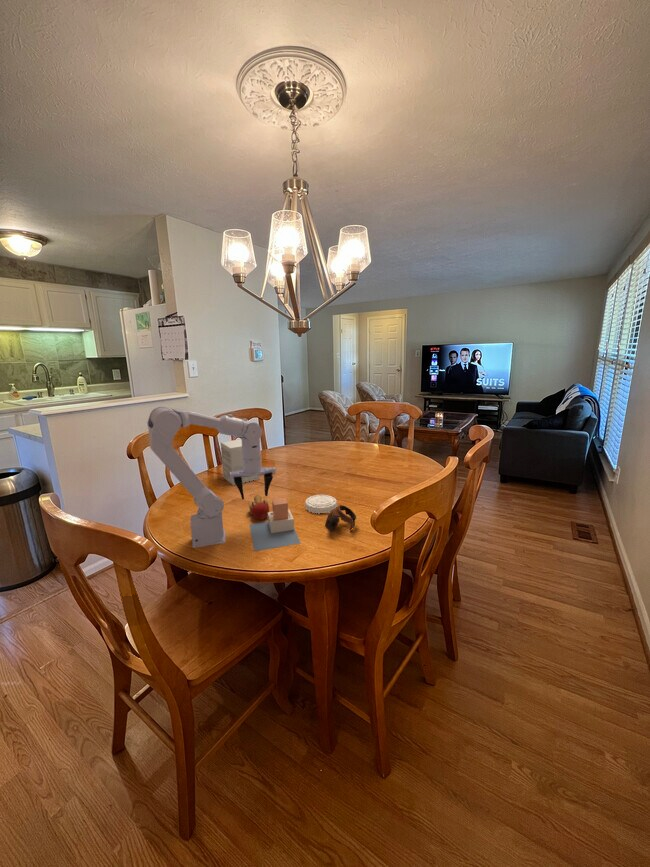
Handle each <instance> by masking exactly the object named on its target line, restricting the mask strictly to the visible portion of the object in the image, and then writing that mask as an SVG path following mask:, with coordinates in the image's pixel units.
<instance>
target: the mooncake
mask: <svg viewBox="0 0 650 867" xmlns="http://www.w3.org/2000/svg"><path fill="white" fill-rule="evenodd" d="M304 505H305V506H304V507H305V508H306V509H305V510H306V511H307V510H308V511H307V512H309V513H311V512H312V514H314V513H316V514H317V513H318V514H317V515H321V514H320V513H326V514H329V513H328V512H330V511H331V510H333V509H334V508H336V507H338V500H337V499H336V497H333V496H332V495H328V494H314V495H311V496H309V497H307V498H306V500H305V502H304Z"/></svg>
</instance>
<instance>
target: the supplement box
mask: <svg viewBox="0 0 650 867" xmlns="http://www.w3.org/2000/svg"><path fill="white" fill-rule="evenodd" d="M220 452H221V454H220V455H221V466H222V475H223V476H222V477H223V479H224V480H226V481H227V482H228V483H229V484H230V485H232V486H236V484H235V482H234V479H232V480H230V472H234V471H239V470H243V469H244V467H243V454H242V440H241V439H240V438H239V439H233V440H228V441H220ZM260 476H261V475H259V476H253V477H242V484H244V483H245V482H246V483H250V482H254V481H258V480H260V479H261V477H260ZM253 480H254V481H253ZM249 481H250V482H249ZM246 483H245V484H246Z"/></svg>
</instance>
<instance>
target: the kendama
mask: <svg viewBox="0 0 650 867" xmlns="http://www.w3.org/2000/svg"><path fill="white" fill-rule="evenodd" d="M253 500H254V502H253V501H249V502H248V508H249V513H250V515H251V516H253V518H254V519H256V520H258V521H262V520H265V519H266V518H268V512H270V506H269V501H268V499H267V498H266V499H265V498H264V499H263V500H262V496H261V495H260V494H256V495H254V497H253Z"/></svg>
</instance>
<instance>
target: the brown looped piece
mask: <svg viewBox="0 0 650 867" xmlns="http://www.w3.org/2000/svg"><path fill="white" fill-rule="evenodd" d="M344 511H345V513H344ZM340 520H341V521H343V522H345V523H348V524H349V525H350V526H349V531H350V530H351V529H352V528H353V529H354V527H355V525H356V521H355V520H357V515H356V514H355V512H354V511H353V510H352V509H351V508H349V507H347V506H345V505H342V504H339V505H337V508H334V509H333V510H331V511H330V513H327V517H326V520H325V523H324V527H325V529H327V530H330V531H336V527H337V526H338V524H339V522H340ZM353 529H352V530H353Z"/></svg>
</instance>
